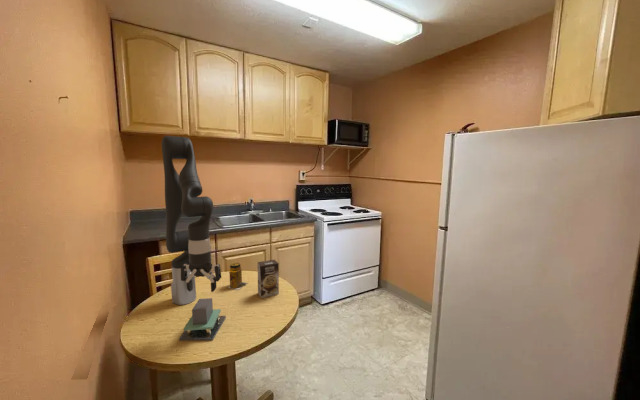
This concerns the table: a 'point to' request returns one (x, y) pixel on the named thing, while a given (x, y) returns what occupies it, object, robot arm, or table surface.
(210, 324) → the board
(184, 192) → the robot arm
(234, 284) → the condiment
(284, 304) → the table surface
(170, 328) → the table surface
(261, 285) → the coffee box
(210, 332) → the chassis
